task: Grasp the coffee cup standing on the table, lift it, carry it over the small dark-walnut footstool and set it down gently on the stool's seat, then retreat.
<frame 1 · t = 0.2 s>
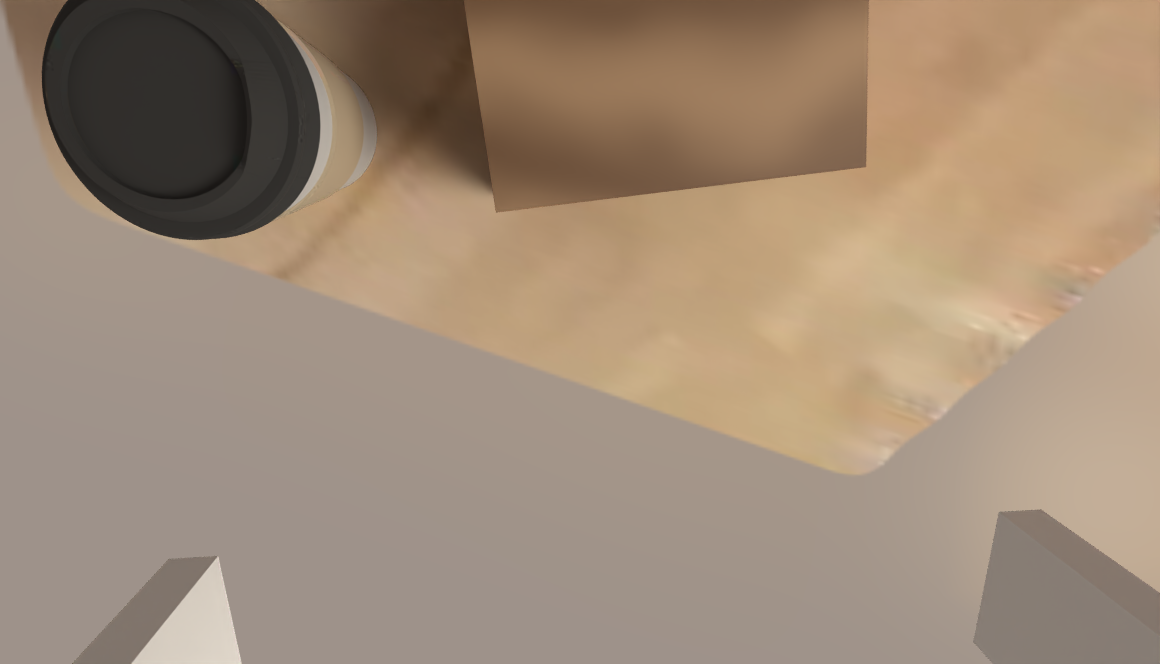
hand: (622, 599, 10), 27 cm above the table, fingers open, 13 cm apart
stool: (631, 32, 33), on the table
coffee cup: (316, 128, 34), on the table
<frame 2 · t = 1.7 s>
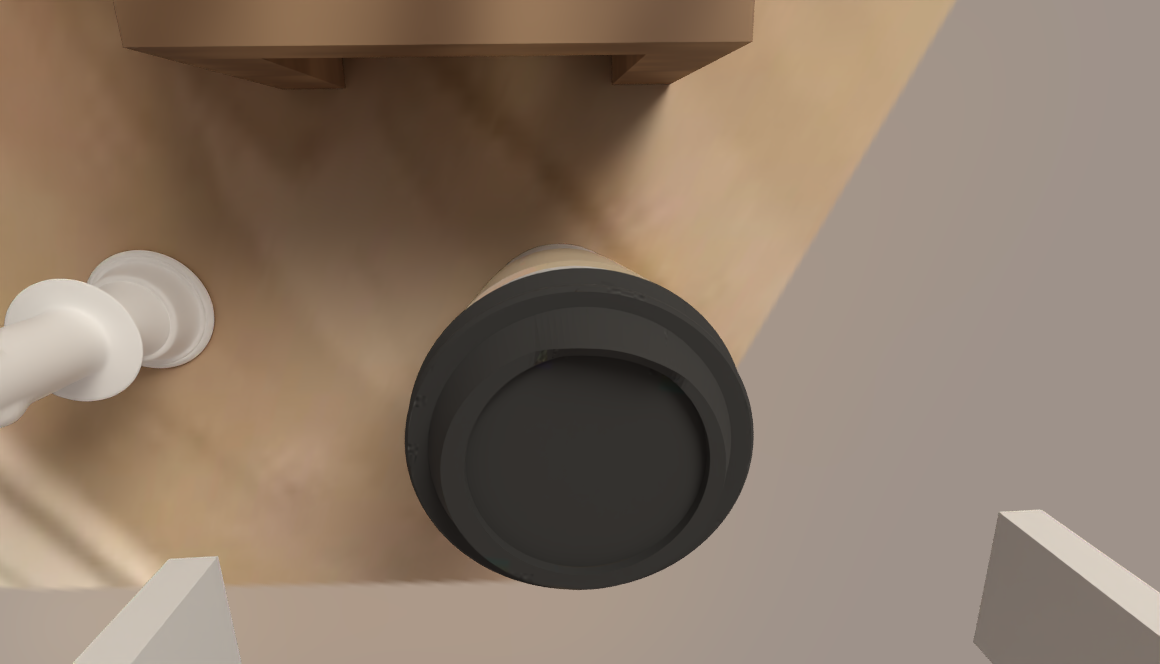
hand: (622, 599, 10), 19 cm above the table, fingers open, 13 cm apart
candle: (155, 308, 27), on the table
coffee cup: (559, 314, 28), on the table
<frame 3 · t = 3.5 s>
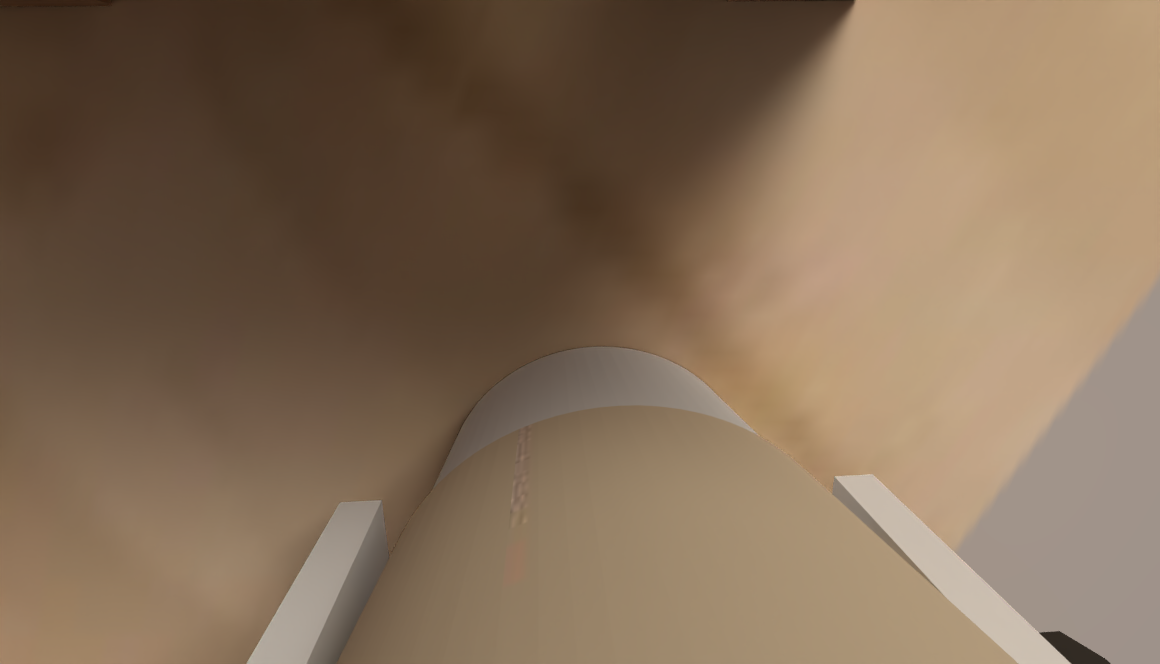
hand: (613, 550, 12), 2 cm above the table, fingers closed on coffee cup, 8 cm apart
coffee cup: (598, 481, 14), on the table, touching gripper
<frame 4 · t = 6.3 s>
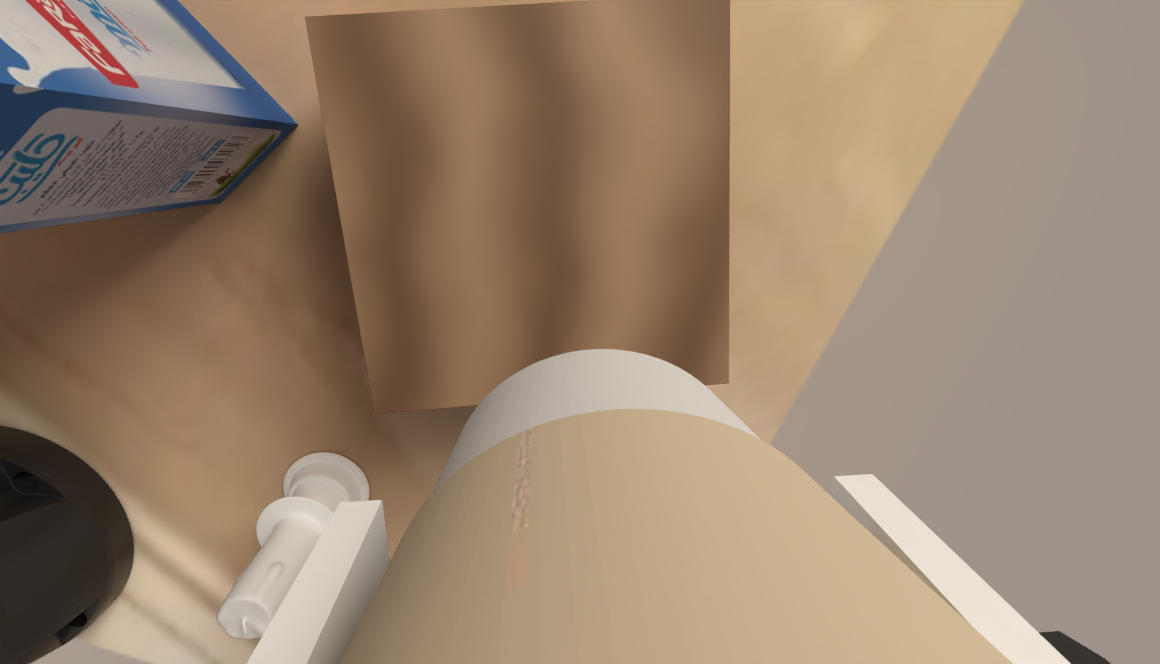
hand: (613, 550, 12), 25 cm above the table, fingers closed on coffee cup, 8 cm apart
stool: (538, 202, 35), on the table
milk carton: (188, 91, 32), on the table
candle: (328, 487, 39), on the table
coffee cup: (598, 483, 14), point 23 cm above the table, touching gripper
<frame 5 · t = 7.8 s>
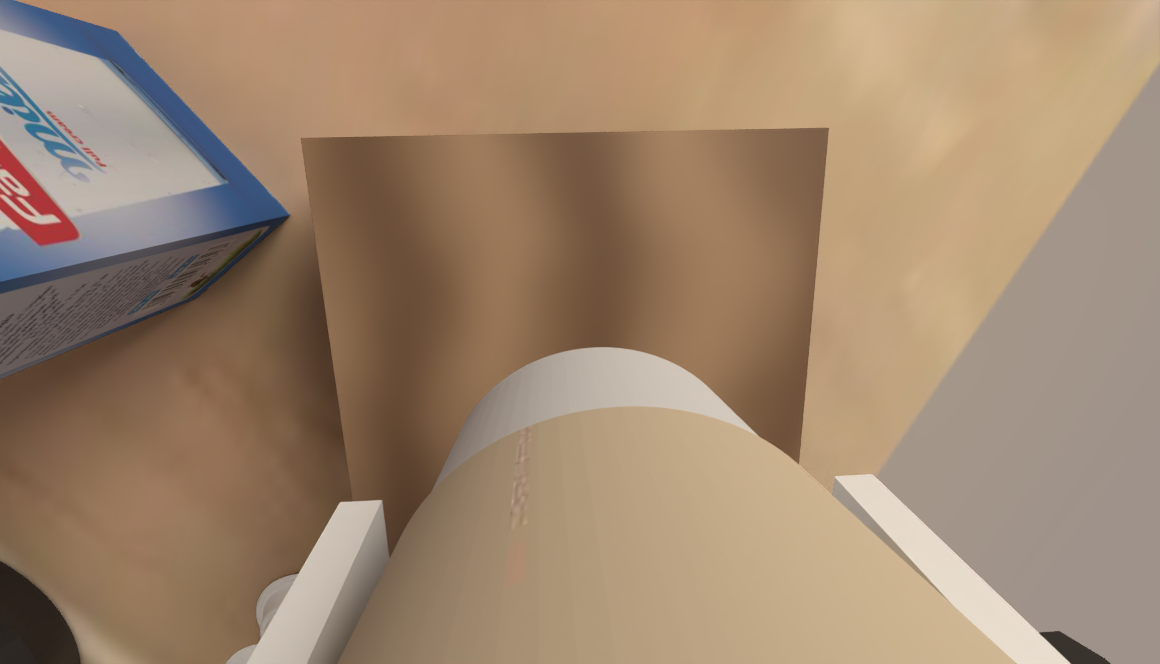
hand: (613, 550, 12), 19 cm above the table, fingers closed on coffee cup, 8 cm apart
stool: (564, 309, 30), on the table
milk carton: (162, 172, 27), on the table
candle: (308, 609, 34), on the table
coffee cup: (598, 481, 14), point 17 cm above the table, touching gripper
when the fingers open (14 cm above the table, at t = 9.2 s): coffee cup drops 1 cm, resting on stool.
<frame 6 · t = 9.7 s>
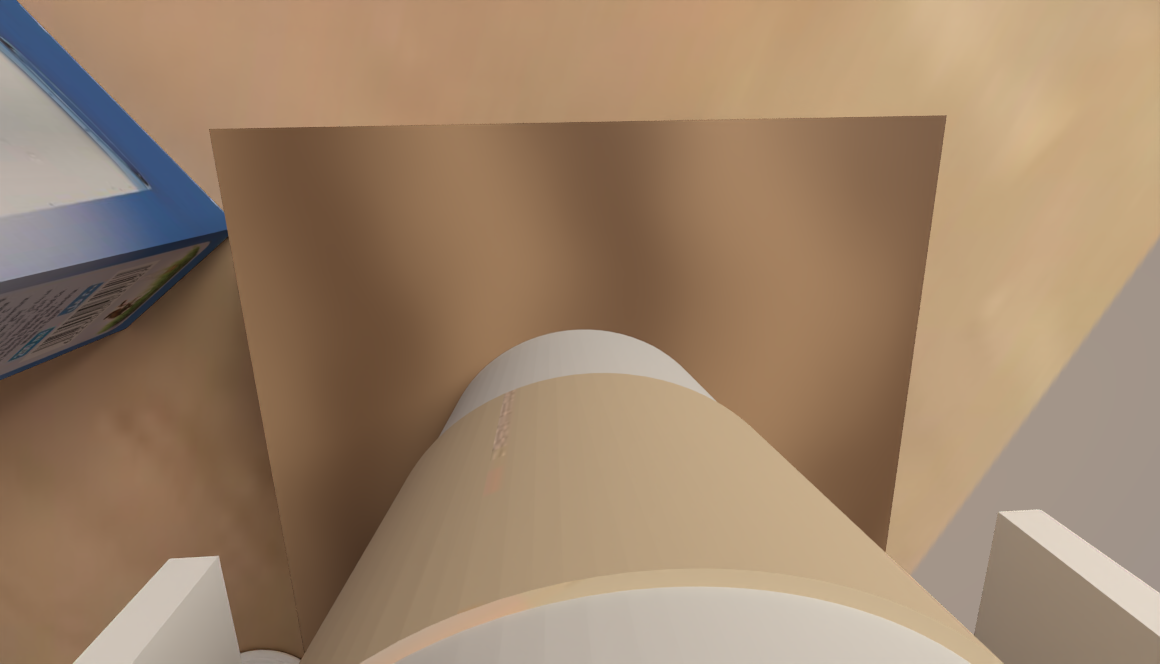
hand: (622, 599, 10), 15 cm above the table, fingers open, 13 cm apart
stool: (573, 340, 25), on the table
milk carton: (79, 175, 22), on the table
coffee cup: (582, 453, 15), point 10 cm above the table, touching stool
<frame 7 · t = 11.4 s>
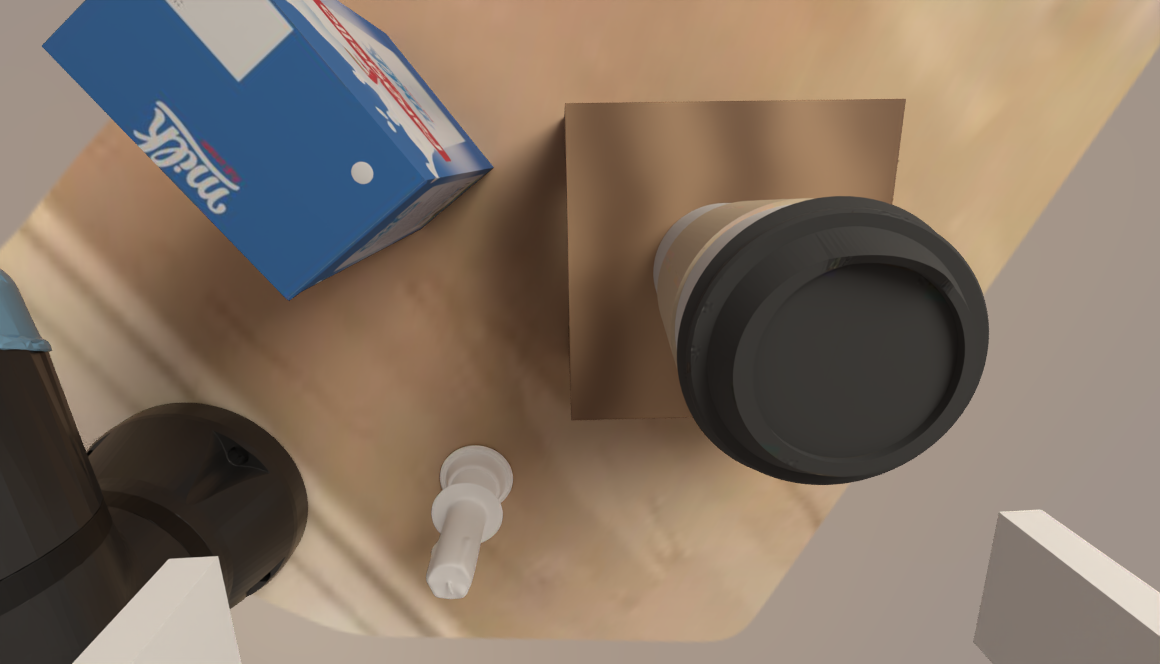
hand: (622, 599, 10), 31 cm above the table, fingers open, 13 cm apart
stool: (687, 242, 40), on the table
milk carton: (405, 135, 38), on the table
candle: (477, 475, 45), on the table
coffee cup: (720, 270, 31), point 10 cm above the table, touching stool
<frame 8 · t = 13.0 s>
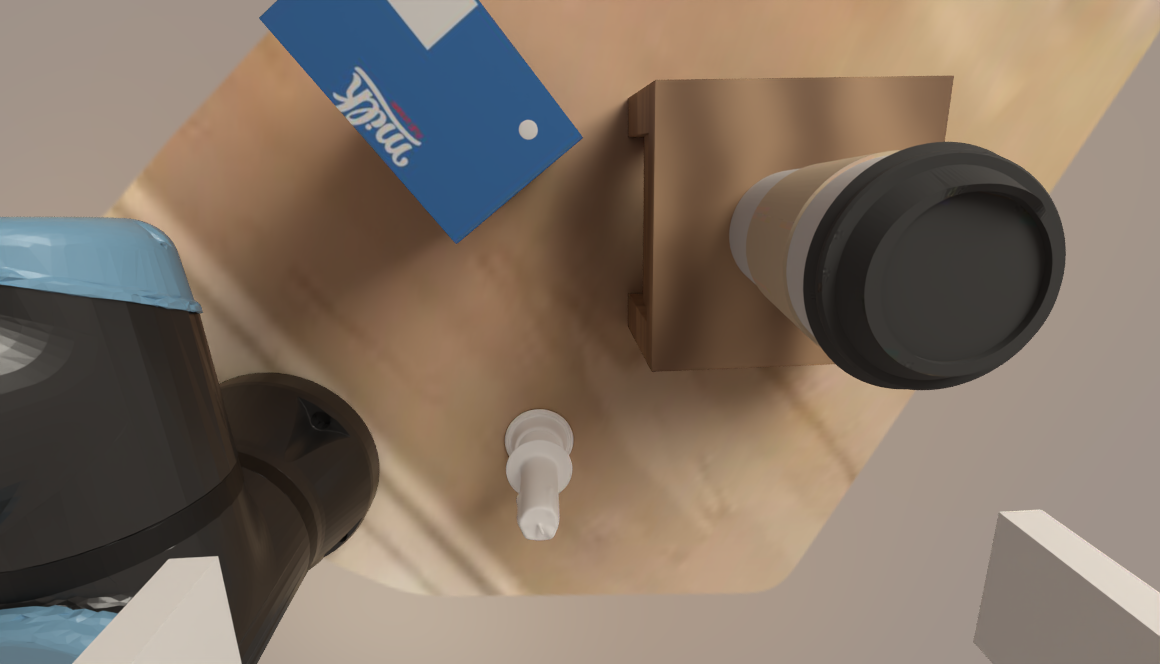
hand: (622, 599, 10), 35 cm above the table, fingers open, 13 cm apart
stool: (738, 215, 43), on the table
milk carton: (480, 116, 41), on the table
candle: (539, 438, 48), on the table
coffee cup: (787, 231, 34), point 10 cm above the table, touching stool
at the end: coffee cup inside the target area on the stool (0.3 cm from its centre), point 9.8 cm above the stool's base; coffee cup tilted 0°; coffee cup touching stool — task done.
